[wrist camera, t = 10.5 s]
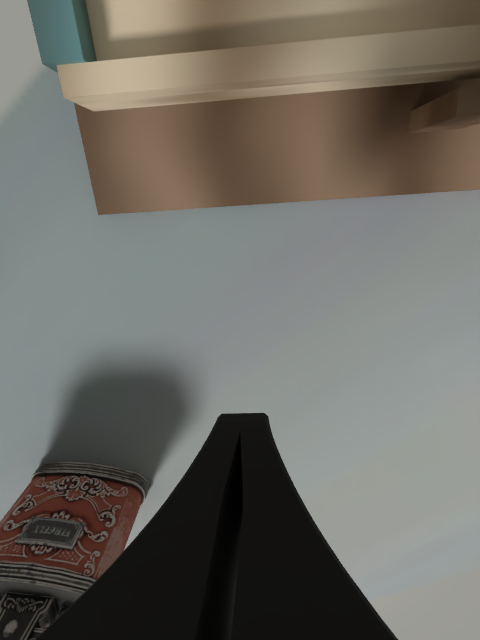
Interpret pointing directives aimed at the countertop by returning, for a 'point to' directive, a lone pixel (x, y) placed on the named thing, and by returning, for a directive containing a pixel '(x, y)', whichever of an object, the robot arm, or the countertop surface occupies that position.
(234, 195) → the stand
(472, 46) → the beam
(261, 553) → the robot arm
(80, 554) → the red tin
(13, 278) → the countertop surface
